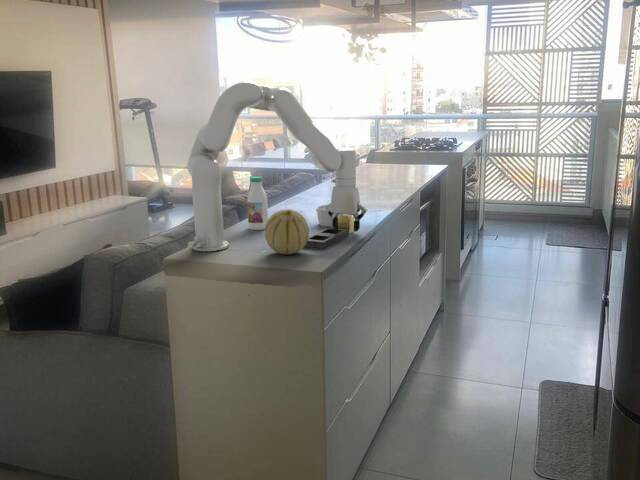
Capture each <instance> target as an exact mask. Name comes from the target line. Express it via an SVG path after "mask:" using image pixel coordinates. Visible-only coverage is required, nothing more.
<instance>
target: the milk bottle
mask: <svg viewBox="0 0 640 480" xmlns="http://www.w3.org/2000/svg"><path fill="white" fill-rule="evenodd" d="M249 181H250V188H249V192H248V194H247V199H246V201H247V203H246V205H247V222H248V224H247V225H248V229H249V230H251V231H261V230H265V225H266V223H267V221H268V220H269V208H268V206H269V205H268V196H267V194H266V191H265V189H264V187H263V177H262V176H250V179H249Z"/></svg>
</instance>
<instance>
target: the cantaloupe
mask: <svg viewBox="0 0 640 480" xmlns="http://www.w3.org/2000/svg"><path fill="white" fill-rule="evenodd" d="M308 237H310V229H309V225H308V222H307V220H306V218H305V217H304V215H303V214H301V213H300V212H298V211H296V210H294V209H288V208H287V209H281V210H278V211H276V212H274V213H272V214H271V215H270V217H268V221H267V223H266V225H265V229H264V238H265V241H266V243H267V245H268V247H270V249H271V250H273V251H274V252H275V253H277V254H280V255H294V254H296V253H299V252H300V251H302V249H303V248H305V247H304V246H305V245H306V243H307V241H308Z"/></svg>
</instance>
